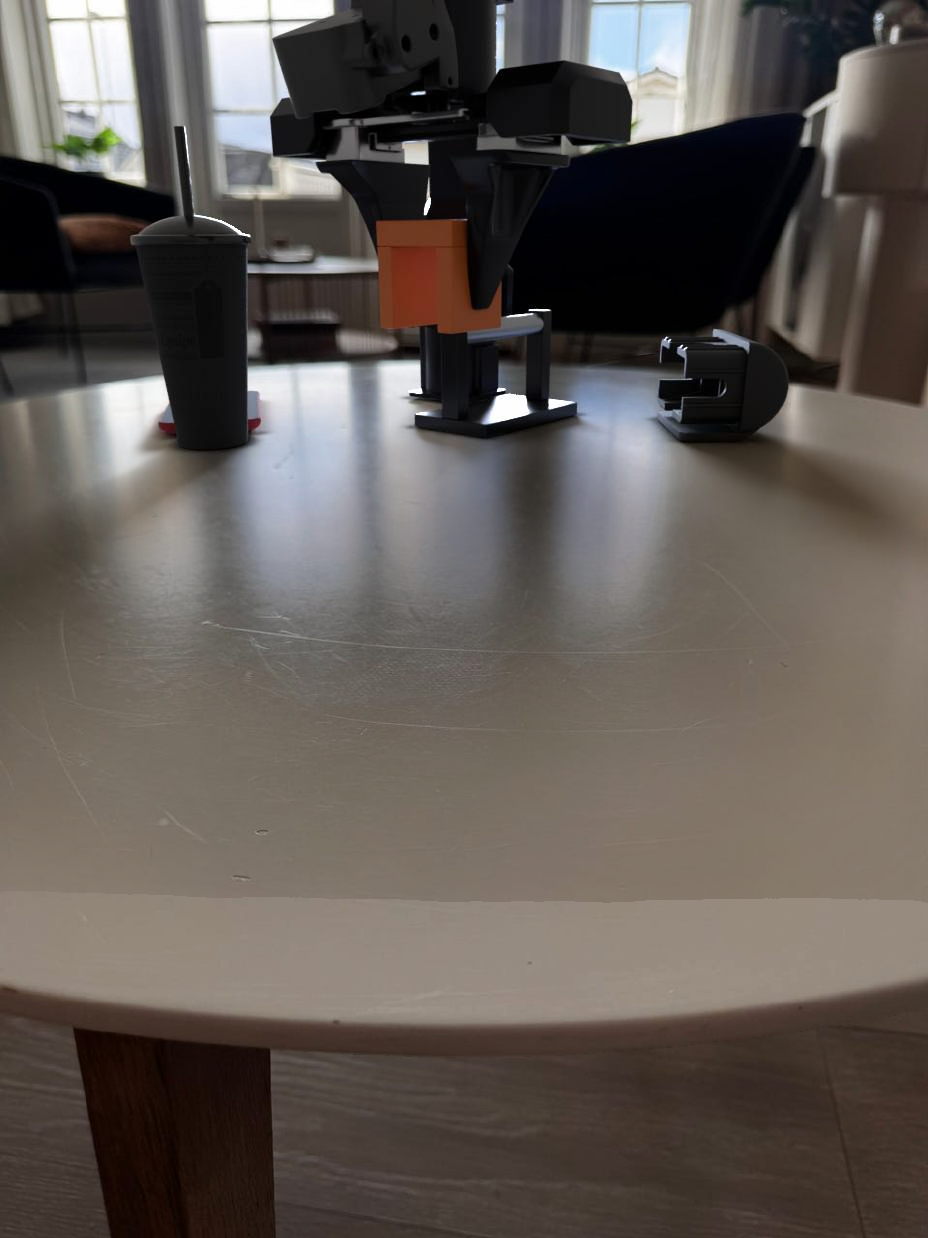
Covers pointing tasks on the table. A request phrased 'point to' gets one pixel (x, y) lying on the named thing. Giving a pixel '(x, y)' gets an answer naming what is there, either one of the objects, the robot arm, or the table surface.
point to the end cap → (720, 387)
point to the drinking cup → (199, 318)
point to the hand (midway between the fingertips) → (440, 307)
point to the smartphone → (253, 414)
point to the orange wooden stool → (428, 277)
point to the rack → (501, 410)
